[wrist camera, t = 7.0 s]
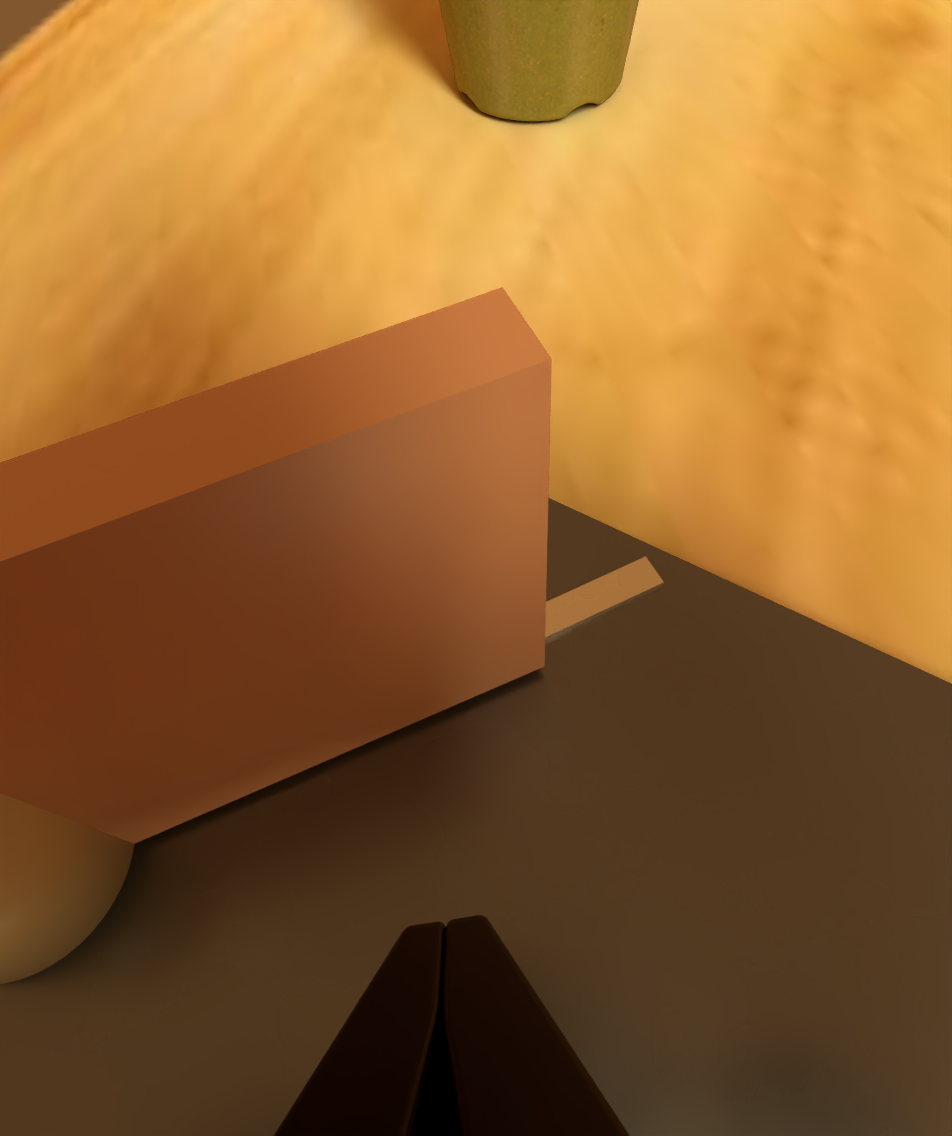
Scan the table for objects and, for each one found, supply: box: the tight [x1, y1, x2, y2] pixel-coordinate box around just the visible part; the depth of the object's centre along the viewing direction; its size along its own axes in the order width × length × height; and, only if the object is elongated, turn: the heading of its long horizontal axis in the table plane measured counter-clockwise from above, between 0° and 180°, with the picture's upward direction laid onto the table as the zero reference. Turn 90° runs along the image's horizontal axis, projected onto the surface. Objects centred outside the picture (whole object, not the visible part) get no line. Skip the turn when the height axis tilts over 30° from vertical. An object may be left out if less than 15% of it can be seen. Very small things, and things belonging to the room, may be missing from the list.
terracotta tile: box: [0, 287, 551, 984], centre depth 10 cm, size 12×4×8 cm, turn 113°
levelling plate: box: [0, 498, 952, 1136], centre depth 12 cm, size 20×20×2 cm
